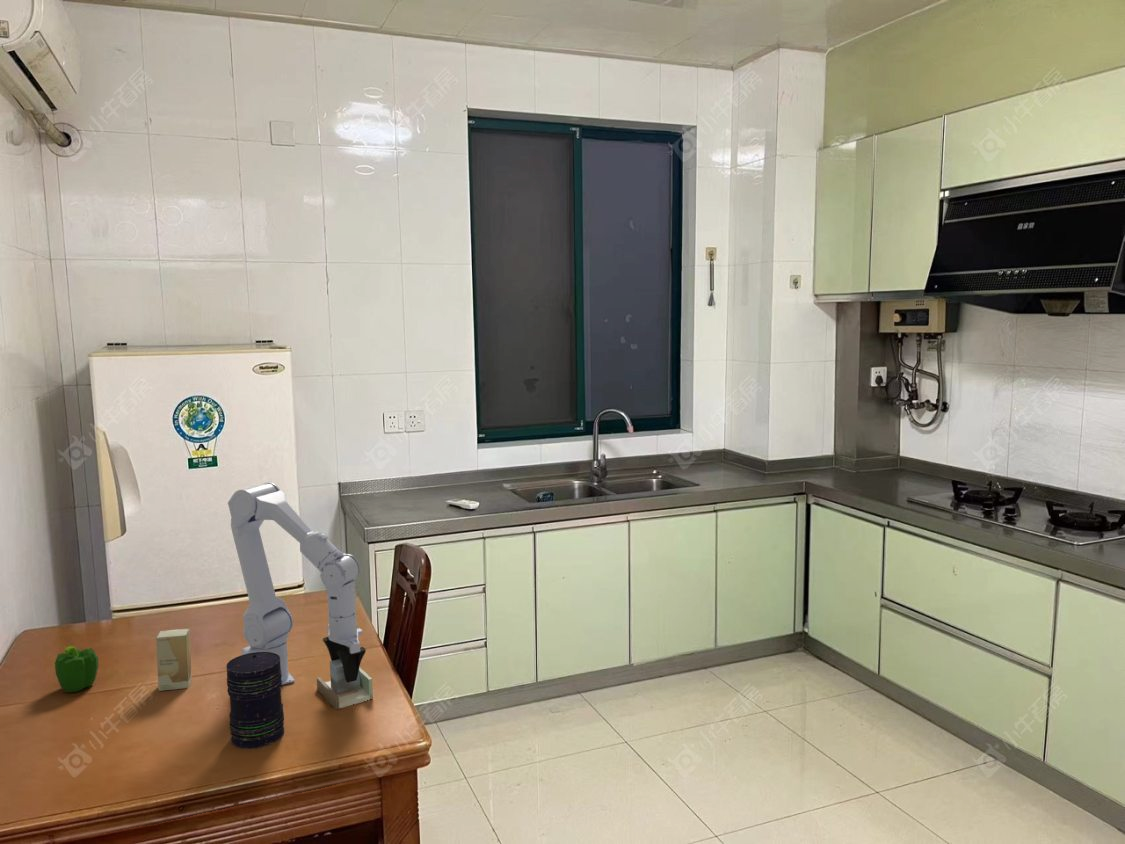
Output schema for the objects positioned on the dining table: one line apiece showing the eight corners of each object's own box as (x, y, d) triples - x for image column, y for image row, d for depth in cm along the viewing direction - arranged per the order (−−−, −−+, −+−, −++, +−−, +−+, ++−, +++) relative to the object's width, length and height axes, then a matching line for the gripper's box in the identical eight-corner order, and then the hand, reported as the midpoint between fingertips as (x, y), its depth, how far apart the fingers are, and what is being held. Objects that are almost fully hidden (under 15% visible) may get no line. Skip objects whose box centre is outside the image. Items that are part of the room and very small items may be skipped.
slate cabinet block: (337, 695, 173) (336, 667, 172) (331, 688, 176) (329, 661, 175) (360, 688, 175) (359, 662, 175) (353, 682, 179) (352, 656, 178)
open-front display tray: (335, 709, 168) (334, 688, 168) (317, 688, 178) (316, 668, 178) (372, 699, 173) (372, 678, 172) (352, 679, 183) (351, 660, 182)
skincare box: (158, 692, 178) (154, 637, 176) (162, 683, 182) (158, 630, 181) (190, 688, 180) (186, 634, 178) (193, 680, 184) (189, 627, 182)
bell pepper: (83, 677, 186) (80, 634, 185) (107, 683, 182) (104, 640, 181) (46, 691, 179) (42, 647, 177) (70, 699, 175) (66, 654, 174)
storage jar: (283, 744, 154) (279, 668, 153) (228, 752, 152) (222, 675, 150) (285, 720, 164) (281, 648, 162) (233, 728, 161) (228, 655, 159)
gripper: (373, 619, 170) (375, 681, 172) (348, 600, 182) (351, 659, 183) (340, 626, 166) (342, 690, 168) (317, 606, 178) (320, 666, 180)
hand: (345, 674), depth 175 cm, fingers open, 7 cm apart
